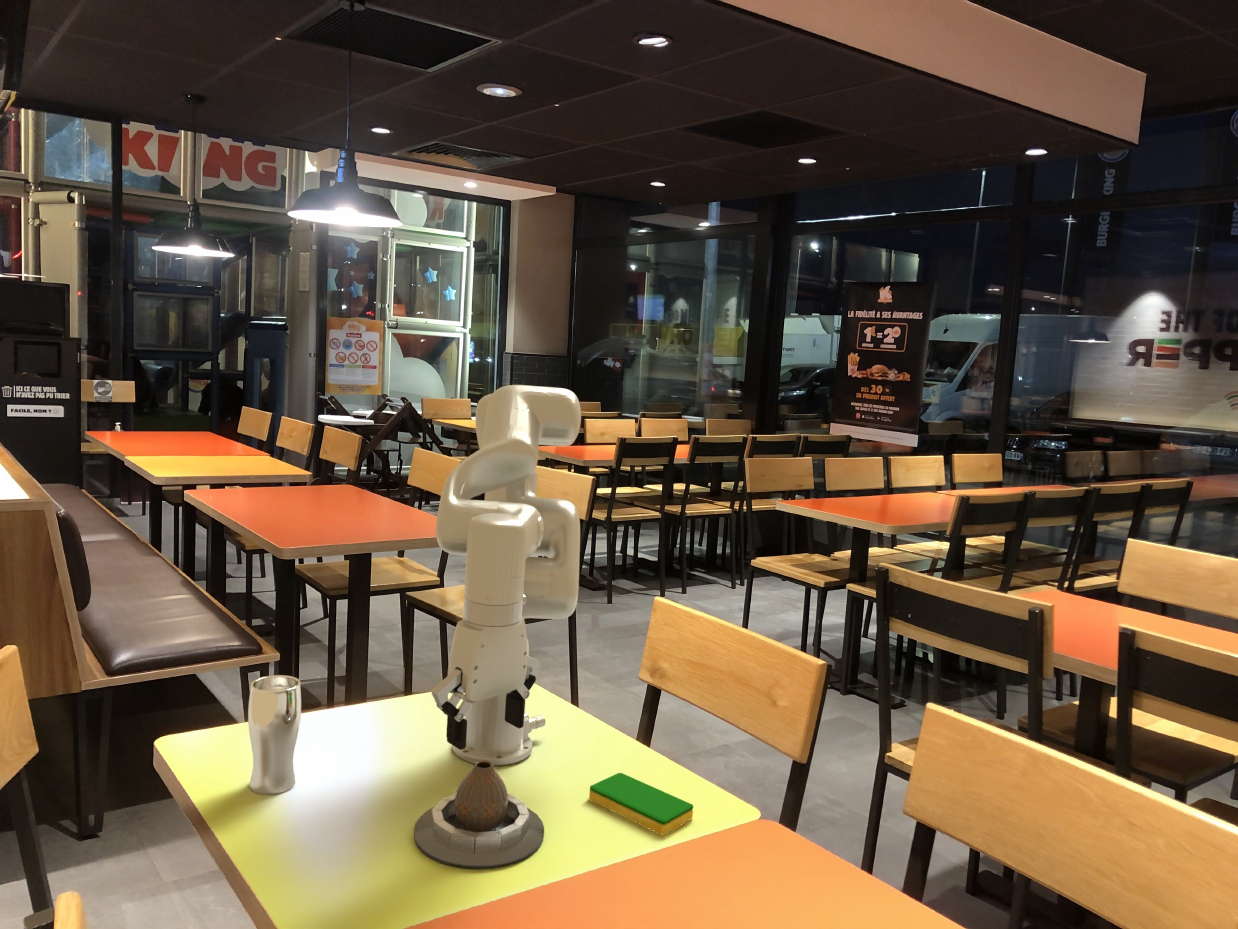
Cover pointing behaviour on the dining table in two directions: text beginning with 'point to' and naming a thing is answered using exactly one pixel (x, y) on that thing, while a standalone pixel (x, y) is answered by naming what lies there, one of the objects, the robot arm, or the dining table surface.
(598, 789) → the dish sponge
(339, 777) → the dining table surface
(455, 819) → the ring seat
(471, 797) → the vase
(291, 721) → the beer glass
